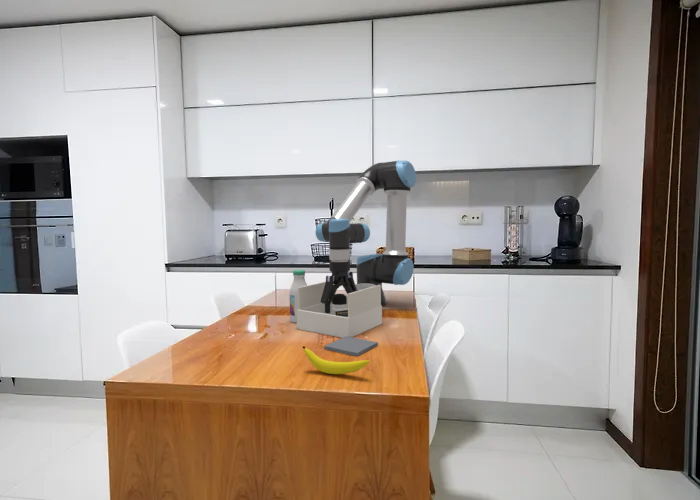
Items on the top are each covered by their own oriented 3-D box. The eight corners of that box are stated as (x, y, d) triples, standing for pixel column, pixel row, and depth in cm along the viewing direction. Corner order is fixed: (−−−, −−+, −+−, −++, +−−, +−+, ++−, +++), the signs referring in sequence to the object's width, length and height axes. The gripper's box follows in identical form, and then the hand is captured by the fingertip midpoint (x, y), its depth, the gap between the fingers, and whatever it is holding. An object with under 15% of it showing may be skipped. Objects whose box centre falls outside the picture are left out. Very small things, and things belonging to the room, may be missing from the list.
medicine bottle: (335, 330, 144) (335, 297, 143) (327, 325, 151) (327, 293, 150) (353, 327, 148) (353, 295, 147) (344, 322, 154) (344, 292, 153)
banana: (368, 382, 98) (368, 356, 98) (300, 371, 106) (299, 347, 105) (372, 377, 101) (372, 353, 101) (305, 367, 108) (305, 344, 108)
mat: (346, 339, 133) (346, 336, 133) (377, 345, 126) (377, 342, 126) (324, 349, 123) (324, 346, 123) (357, 356, 117) (357, 353, 116)
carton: (333, 316, 165) (333, 279, 164) (381, 323, 152) (381, 284, 151) (297, 328, 146) (296, 288, 145) (348, 338, 134) (347, 294, 132)
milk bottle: (311, 318, 161) (310, 269, 159) (307, 323, 153) (306, 271, 152) (292, 318, 162) (291, 269, 160) (287, 323, 154) (286, 271, 153)
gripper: (350, 257, 160) (350, 309, 161) (309, 263, 139) (310, 323, 141) (366, 258, 155) (366, 312, 157) (327, 264, 135) (328, 326, 137)
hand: (340, 317), depth 149 cm, fingers open, 13 cm apart
